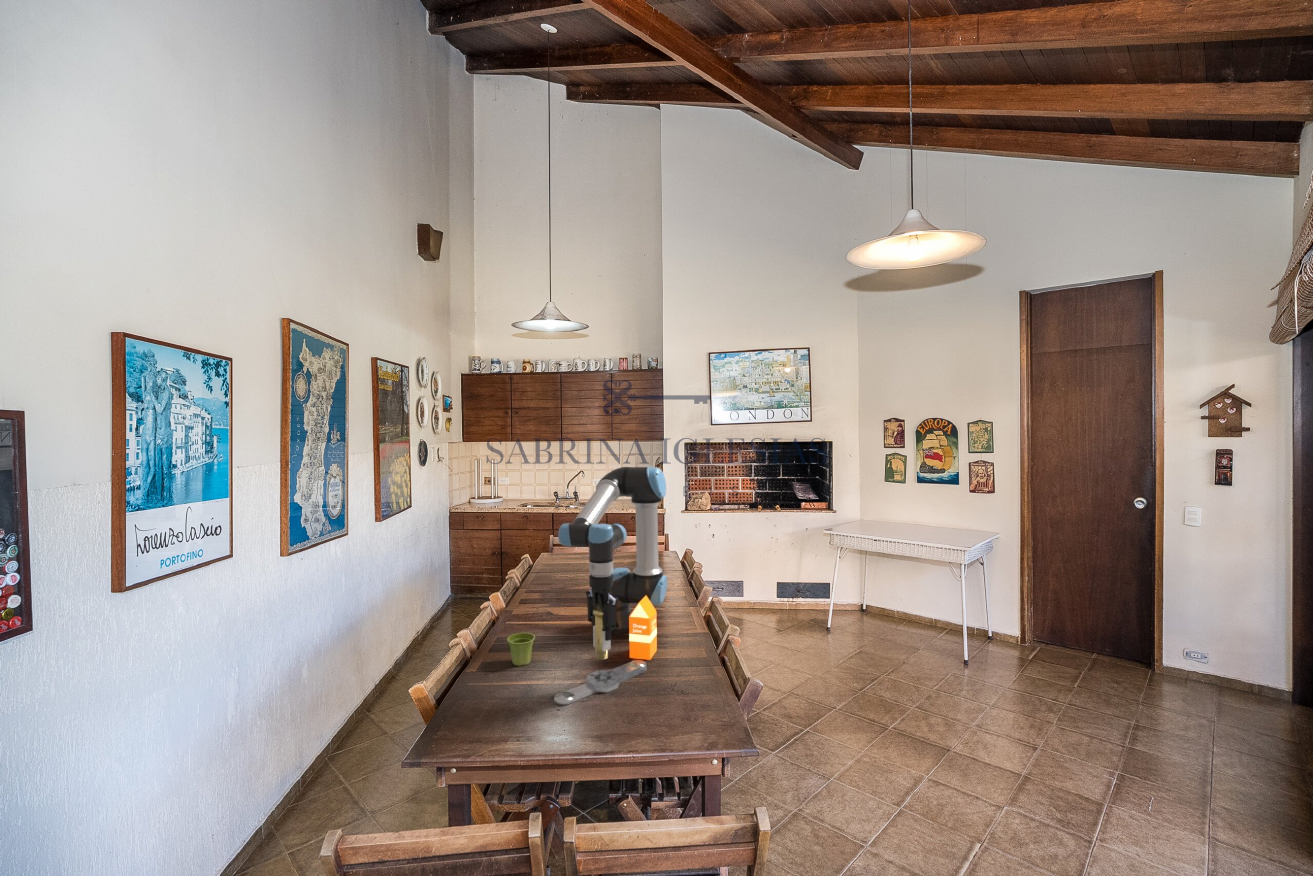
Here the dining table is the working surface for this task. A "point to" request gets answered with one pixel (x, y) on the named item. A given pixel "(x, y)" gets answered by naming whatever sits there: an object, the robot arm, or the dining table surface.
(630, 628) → the orange juice
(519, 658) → the plant pot
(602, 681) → the metal spinner bar
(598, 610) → the pin
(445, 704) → the dining table surface
